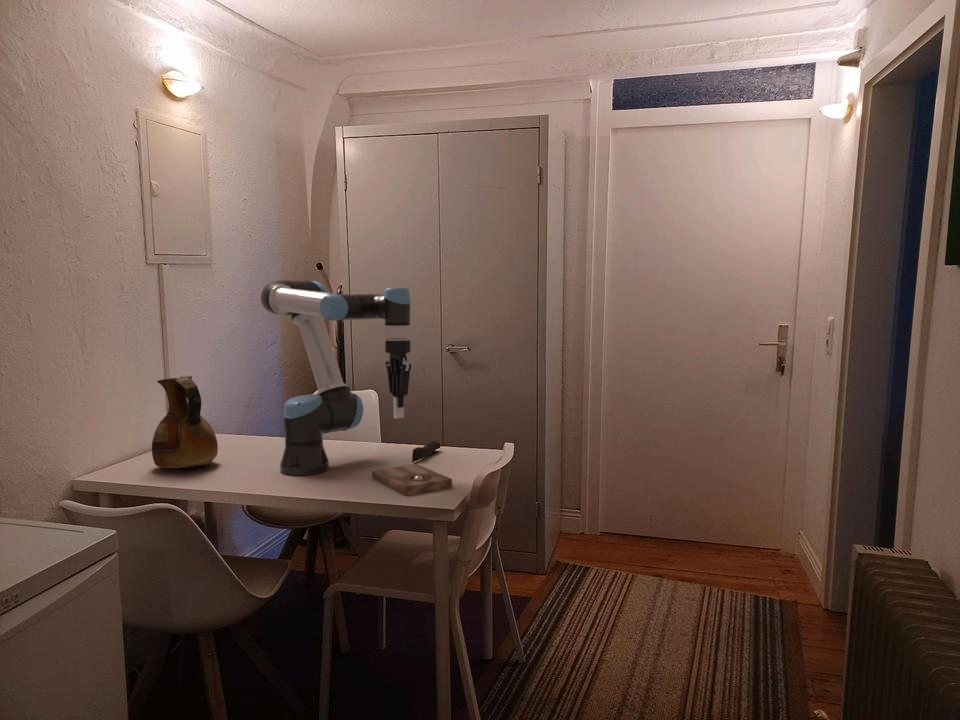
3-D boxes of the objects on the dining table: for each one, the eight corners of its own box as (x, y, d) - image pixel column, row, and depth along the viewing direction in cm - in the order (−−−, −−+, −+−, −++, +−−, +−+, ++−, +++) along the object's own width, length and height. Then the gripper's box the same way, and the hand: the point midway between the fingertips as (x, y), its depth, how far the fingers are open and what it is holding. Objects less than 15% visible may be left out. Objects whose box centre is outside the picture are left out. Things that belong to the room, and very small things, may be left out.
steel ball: (412, 488, 201) (416, 485, 198) (409, 478, 202) (414, 474, 199) (422, 487, 202) (426, 483, 200) (419, 476, 204) (423, 473, 201)
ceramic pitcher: (192, 457, 239) (188, 371, 237) (232, 464, 229) (228, 374, 226) (139, 470, 222) (134, 377, 220) (179, 478, 212) (175, 380, 209)
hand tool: (430, 451, 248) (430, 438, 248) (440, 452, 246) (440, 439, 246) (405, 463, 230) (405, 449, 230) (416, 464, 229) (415, 450, 229)
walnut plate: (404, 495, 191) (404, 486, 191) (372, 478, 210) (372, 470, 210) (451, 487, 200) (451, 479, 199) (416, 471, 218) (416, 463, 218)
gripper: (419, 340, 204) (419, 419, 206) (399, 338, 214) (400, 413, 217) (395, 341, 200) (396, 422, 202) (377, 338, 210) (378, 415, 213)
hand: (398, 417), depth 209 cm, fingers closed
